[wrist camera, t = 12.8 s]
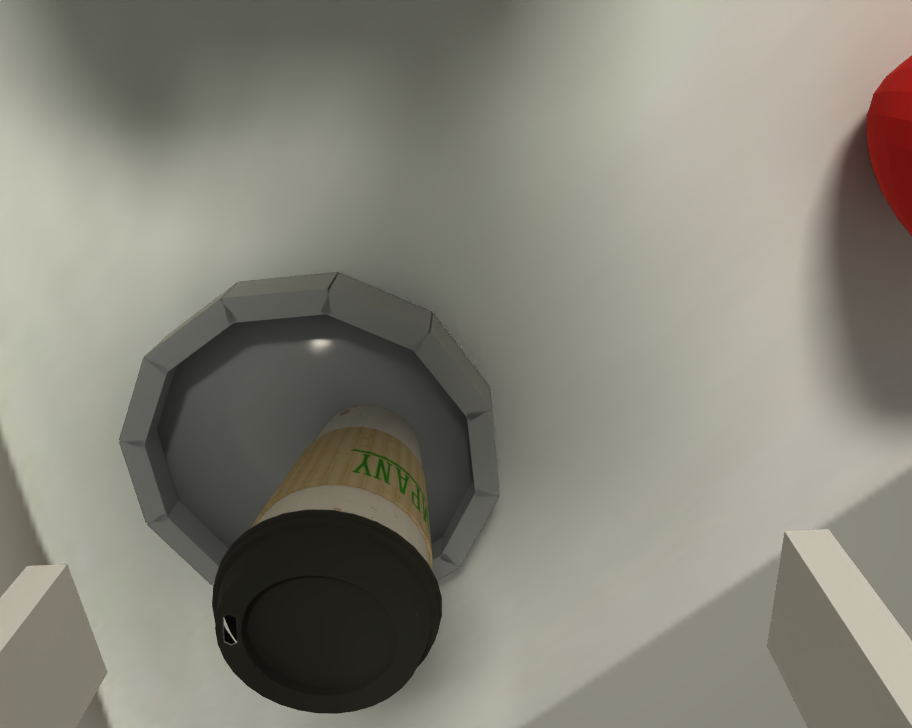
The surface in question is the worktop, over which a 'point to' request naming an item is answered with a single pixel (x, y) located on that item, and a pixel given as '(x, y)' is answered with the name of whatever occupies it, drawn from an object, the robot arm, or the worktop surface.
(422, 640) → the coffee cup
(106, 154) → the worktop surface
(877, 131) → the tomato
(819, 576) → the robot arm
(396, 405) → the tray
